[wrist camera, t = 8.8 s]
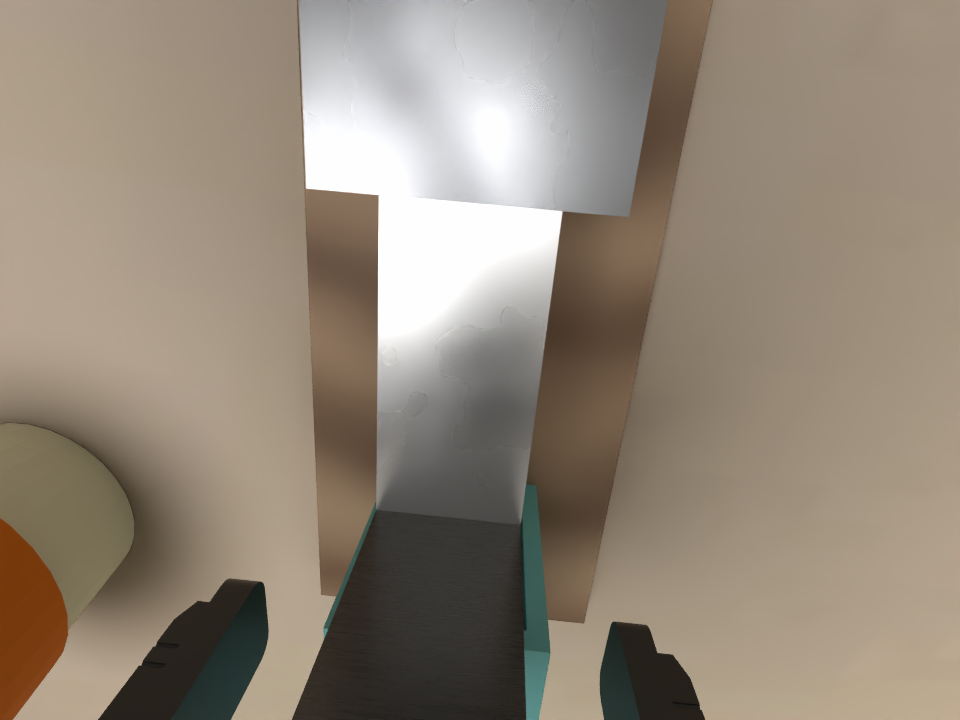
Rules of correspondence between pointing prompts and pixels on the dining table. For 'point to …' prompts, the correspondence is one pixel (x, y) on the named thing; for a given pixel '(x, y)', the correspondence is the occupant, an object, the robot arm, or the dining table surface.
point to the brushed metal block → (479, 99)
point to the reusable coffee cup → (51, 549)
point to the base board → (567, 352)
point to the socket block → (532, 602)
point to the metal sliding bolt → (445, 470)
